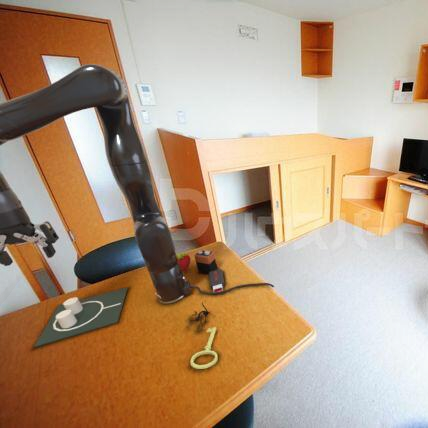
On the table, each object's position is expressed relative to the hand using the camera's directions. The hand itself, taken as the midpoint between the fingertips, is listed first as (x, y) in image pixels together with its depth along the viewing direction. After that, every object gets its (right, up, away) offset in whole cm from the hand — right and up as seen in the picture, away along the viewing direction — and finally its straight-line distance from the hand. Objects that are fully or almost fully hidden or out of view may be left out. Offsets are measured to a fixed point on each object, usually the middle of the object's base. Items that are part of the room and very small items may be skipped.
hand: (31, 260), depth 67 cm
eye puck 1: (-3, -21, +16) cm, 26 cm away
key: (+48, -28, +4) cm, 56 cm away
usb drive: (+40, -15, +30) cm, 52 cm away
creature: (+41, -24, +13) cm, 49 cm away
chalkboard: (+1, -22, +15) cm, 27 cm away
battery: (+33, -12, +37) cm, 51 cm away
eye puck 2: (0, -23, +11) cm, 26 cm away
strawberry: (+23, -12, +37) cm, 45 cm away
